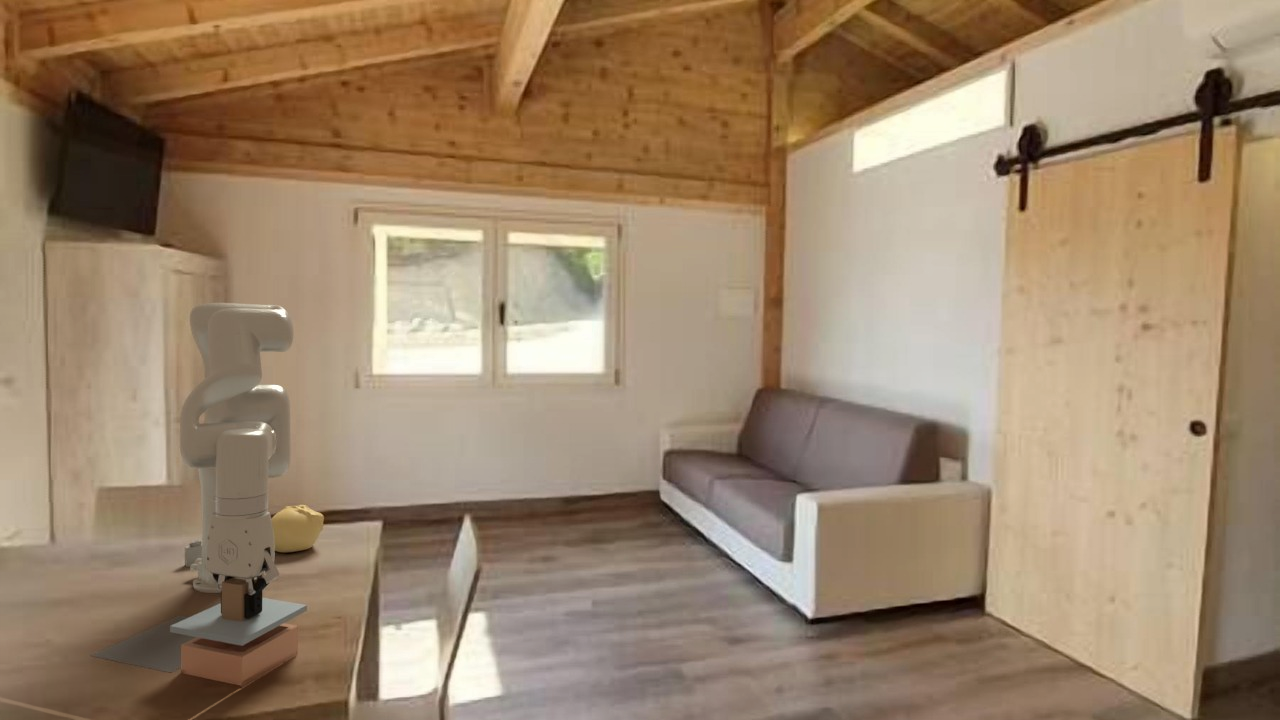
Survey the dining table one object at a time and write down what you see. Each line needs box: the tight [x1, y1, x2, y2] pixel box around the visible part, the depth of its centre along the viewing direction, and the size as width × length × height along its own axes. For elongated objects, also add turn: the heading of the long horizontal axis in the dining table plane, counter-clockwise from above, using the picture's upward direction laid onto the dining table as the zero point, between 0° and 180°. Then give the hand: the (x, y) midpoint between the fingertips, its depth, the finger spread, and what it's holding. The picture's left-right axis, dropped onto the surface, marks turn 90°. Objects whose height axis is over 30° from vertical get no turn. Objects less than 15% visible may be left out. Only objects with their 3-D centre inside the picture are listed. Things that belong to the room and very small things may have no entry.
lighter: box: [184, 539, 202, 568], centre depth 164 cm, size 7×2×8 cm, turn 141°
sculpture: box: [271, 504, 325, 553], centre depth 176 cm, size 12×12×11 cm
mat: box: [90, 614, 196, 674], centre depth 125 cm, size 17×17×1 cm
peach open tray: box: [180, 622, 299, 689], centre depth 119 cm, size 12×12×5 cm
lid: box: [170, 577, 308, 646], centre depth 118 cm, size 14×14×7 cm
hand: (241, 612), depth 118 cm, fingers closed on lid, 4 cm apart
